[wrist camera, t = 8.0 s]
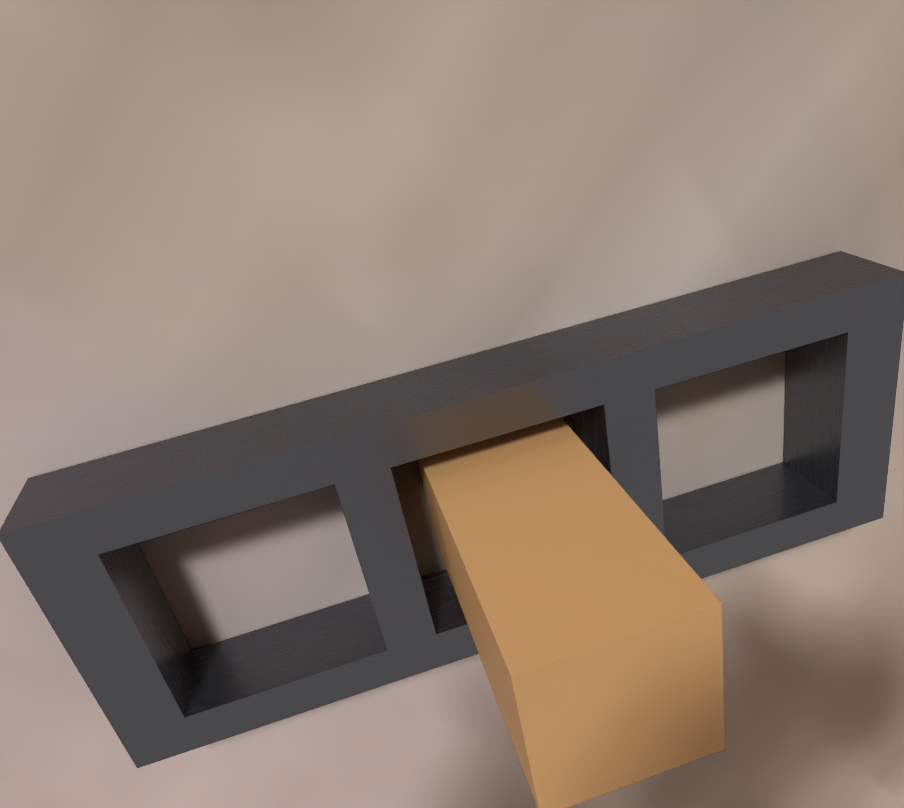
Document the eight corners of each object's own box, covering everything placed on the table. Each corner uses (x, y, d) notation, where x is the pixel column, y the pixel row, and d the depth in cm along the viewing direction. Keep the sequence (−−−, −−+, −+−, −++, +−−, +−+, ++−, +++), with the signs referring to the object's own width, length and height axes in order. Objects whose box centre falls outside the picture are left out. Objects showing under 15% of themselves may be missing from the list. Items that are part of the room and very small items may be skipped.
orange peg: (545, 398, 21) (721, 602, 13) (561, 510, 23) (725, 748, 15) (411, 437, 20) (510, 674, 12) (438, 548, 22) (541, 817, 14)
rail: (840, 251, 21) (908, 272, 19) (827, 477, 25) (882, 517, 23) (27, 478, 18) (-3, 535, 16) (149, 697, 22) (137, 768, 20)
